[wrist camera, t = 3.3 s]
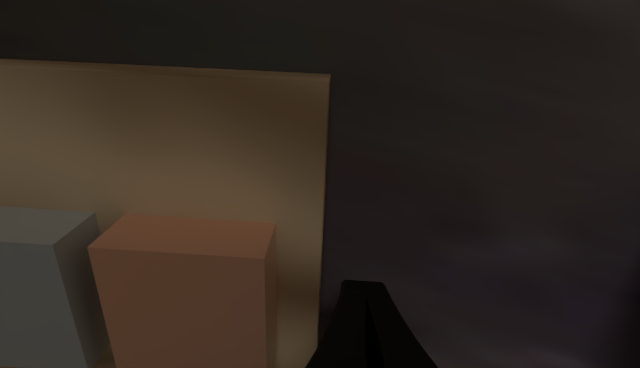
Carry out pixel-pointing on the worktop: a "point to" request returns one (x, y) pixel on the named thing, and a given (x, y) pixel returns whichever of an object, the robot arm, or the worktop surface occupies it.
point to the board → (178, 159)
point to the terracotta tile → (188, 291)
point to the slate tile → (49, 290)
